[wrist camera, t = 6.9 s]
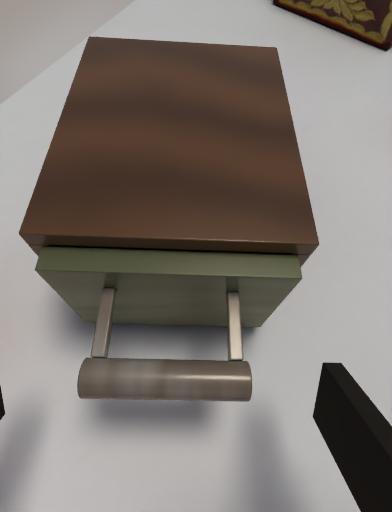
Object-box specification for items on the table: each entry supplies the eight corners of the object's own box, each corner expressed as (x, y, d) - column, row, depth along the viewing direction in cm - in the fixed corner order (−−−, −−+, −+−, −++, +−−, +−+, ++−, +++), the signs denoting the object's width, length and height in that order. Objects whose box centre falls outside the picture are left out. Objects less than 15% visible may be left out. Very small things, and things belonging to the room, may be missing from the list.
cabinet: (264, 314, 21) (320, 244, 13) (84, 309, 21) (17, 233, 12) (248, 157, 29) (276, 47, 20) (116, 151, 29) (88, 36, 20)
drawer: (267, 407, 18) (324, 399, 11) (69, 403, 17) (-4, 394, 10) (245, 167, 27) (268, 81, 20) (117, 162, 27) (94, 71, 20)
